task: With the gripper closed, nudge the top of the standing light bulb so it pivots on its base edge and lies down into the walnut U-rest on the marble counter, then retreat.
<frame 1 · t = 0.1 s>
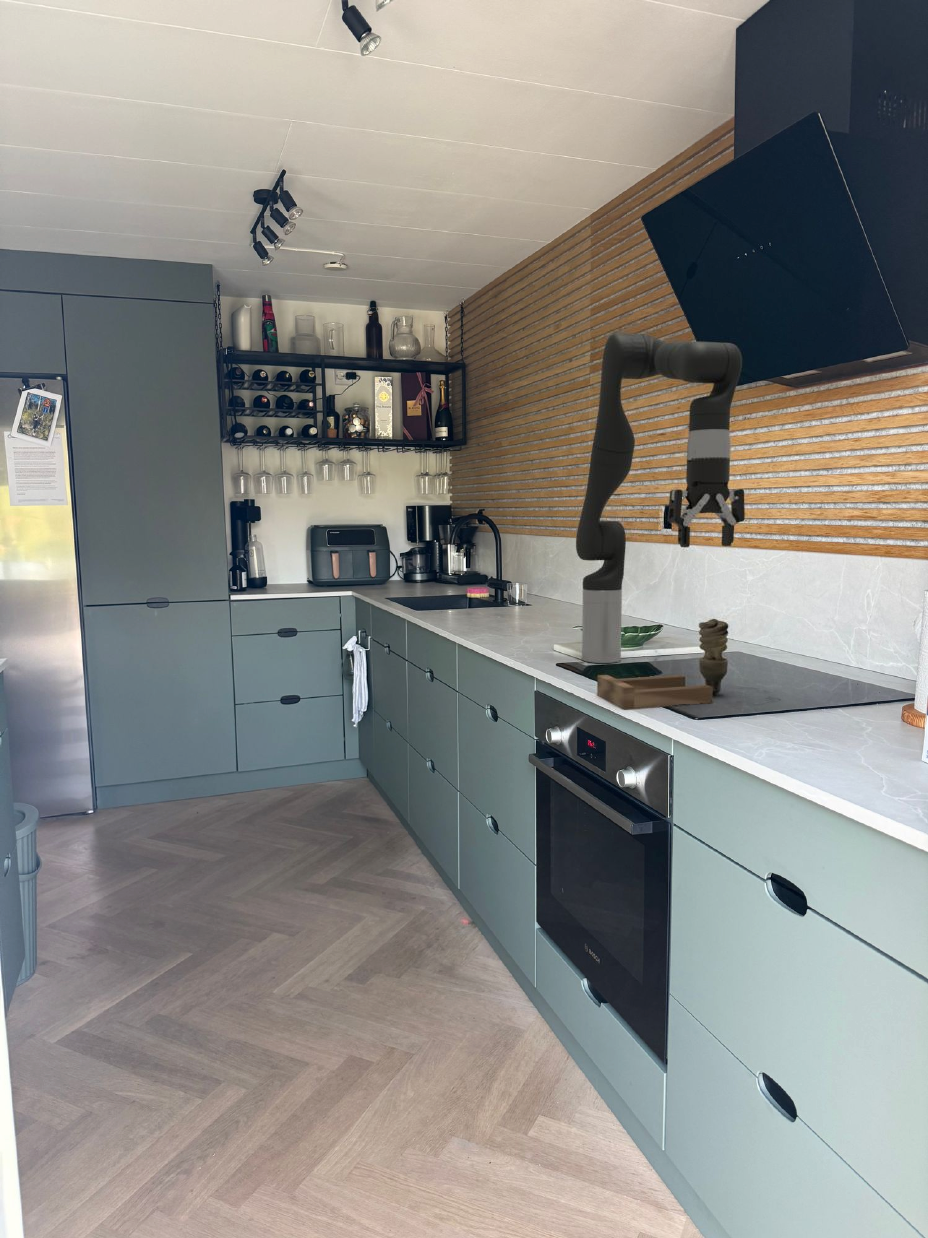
hand: (705, 546, 151), 29 cm above the worktop, fingers open, 8 cm apart
light bulb: (711, 695, 161), on the worktop
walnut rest: (658, 698, 158), on the worktop
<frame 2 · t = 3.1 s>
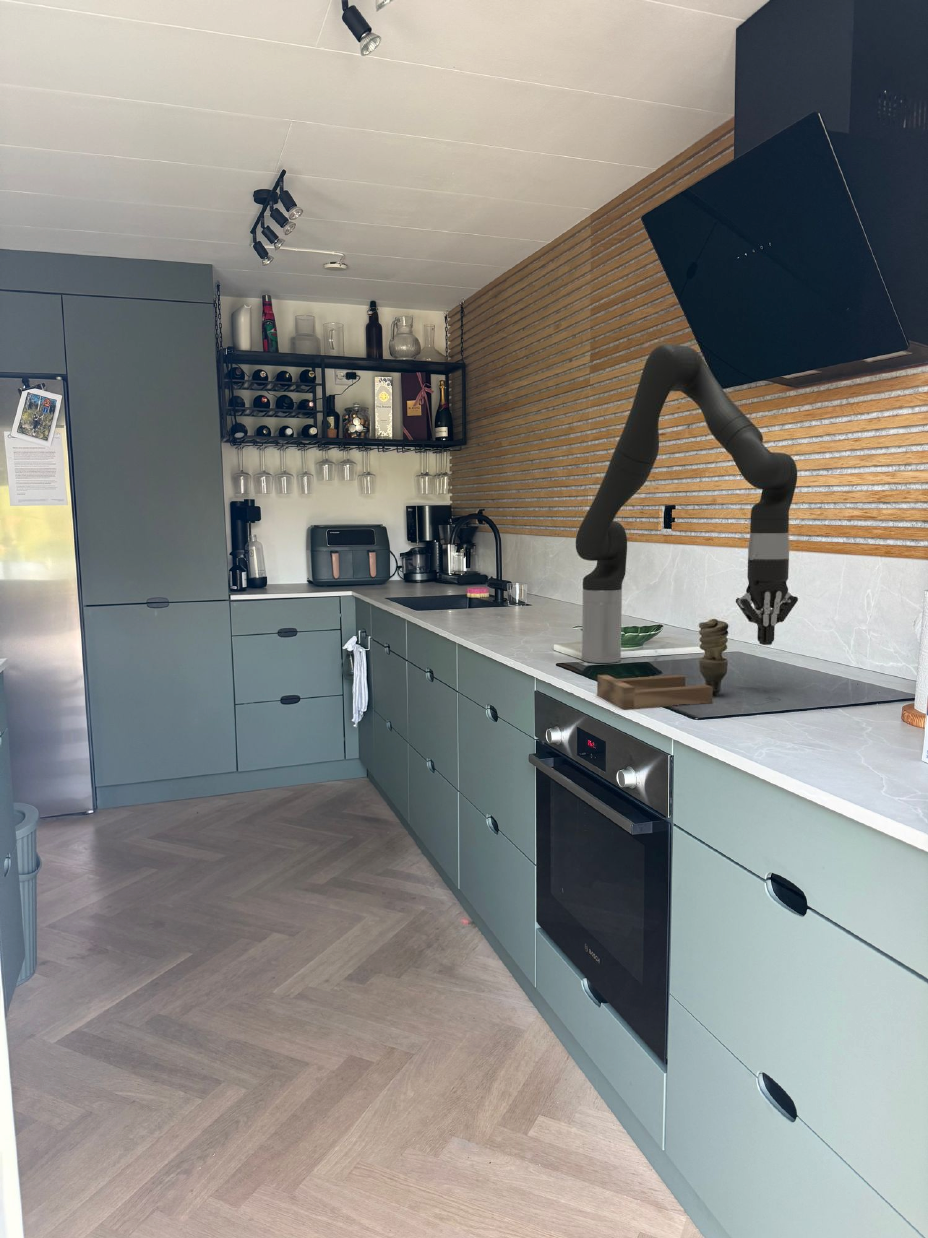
hand: (765, 644, 162), 9 cm above the worktop, fingers closed
nothing on the worktop moved.
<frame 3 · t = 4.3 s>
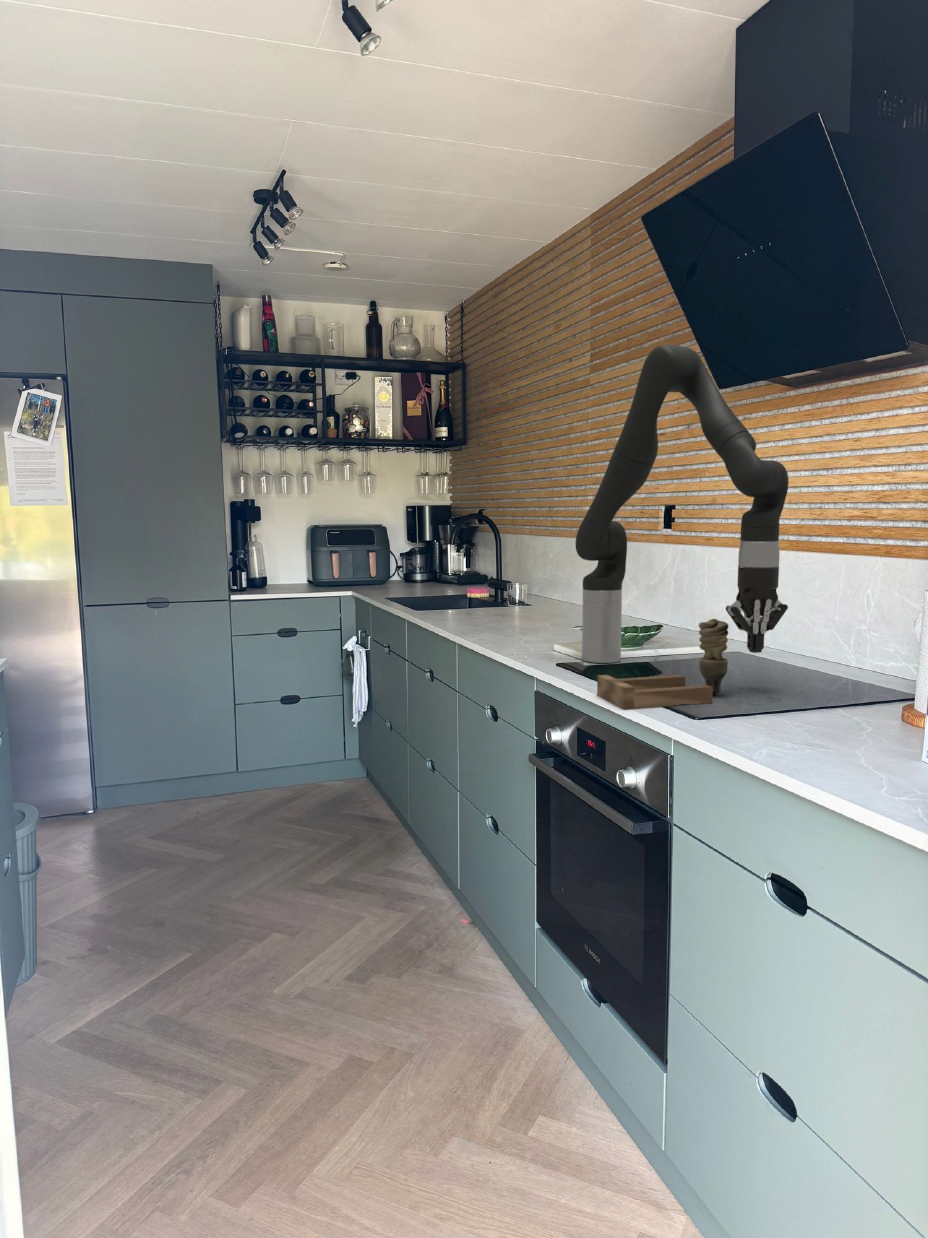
hand: (755, 652, 162), 8 cm above the worktop, fingers closed
nothing on the worktop moved.
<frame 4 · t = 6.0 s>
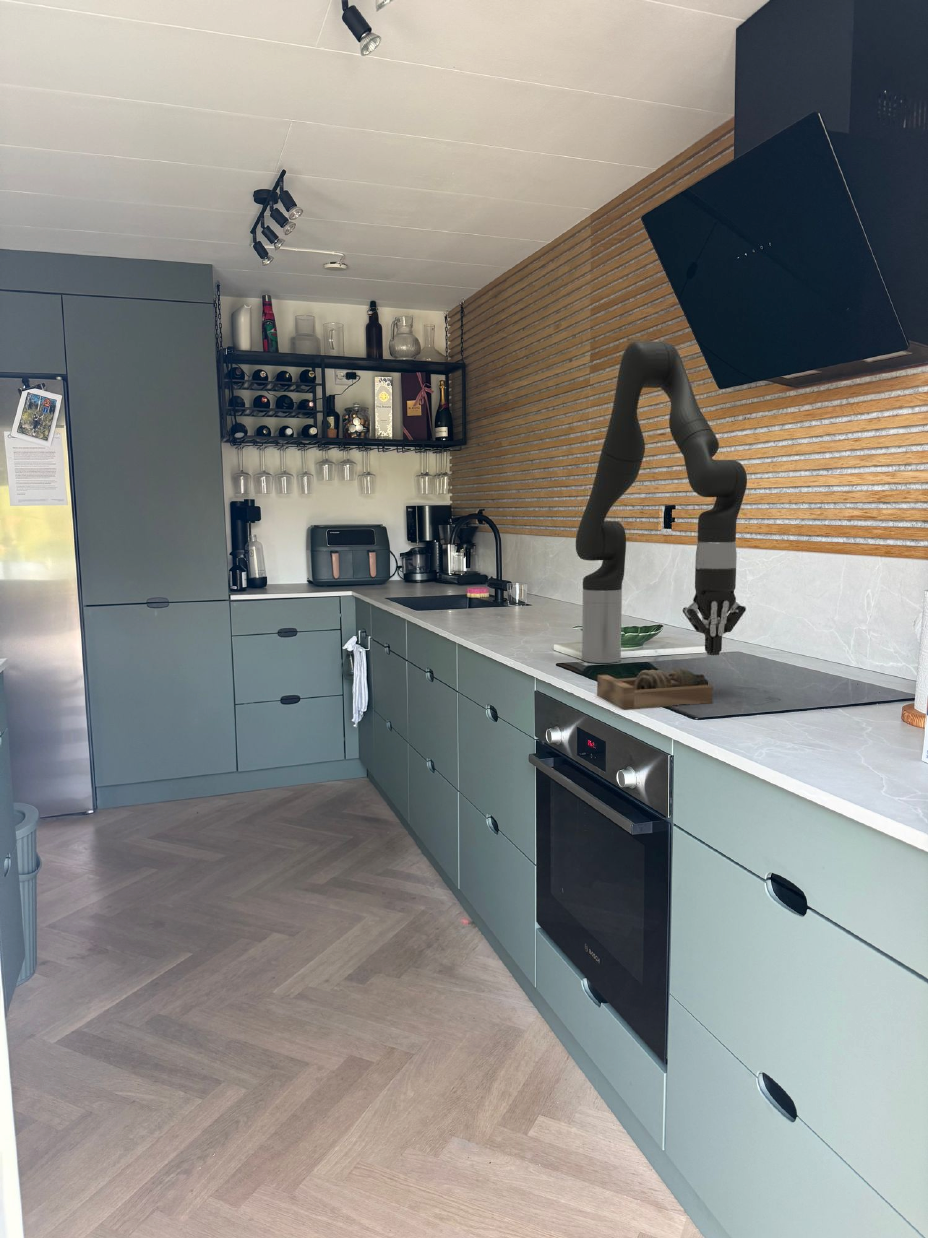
hand: (712, 654, 160), 8 cm above the worktop, fingers closed
light bulb: (707, 680, 159), point 3 cm above the worktop, touching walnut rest
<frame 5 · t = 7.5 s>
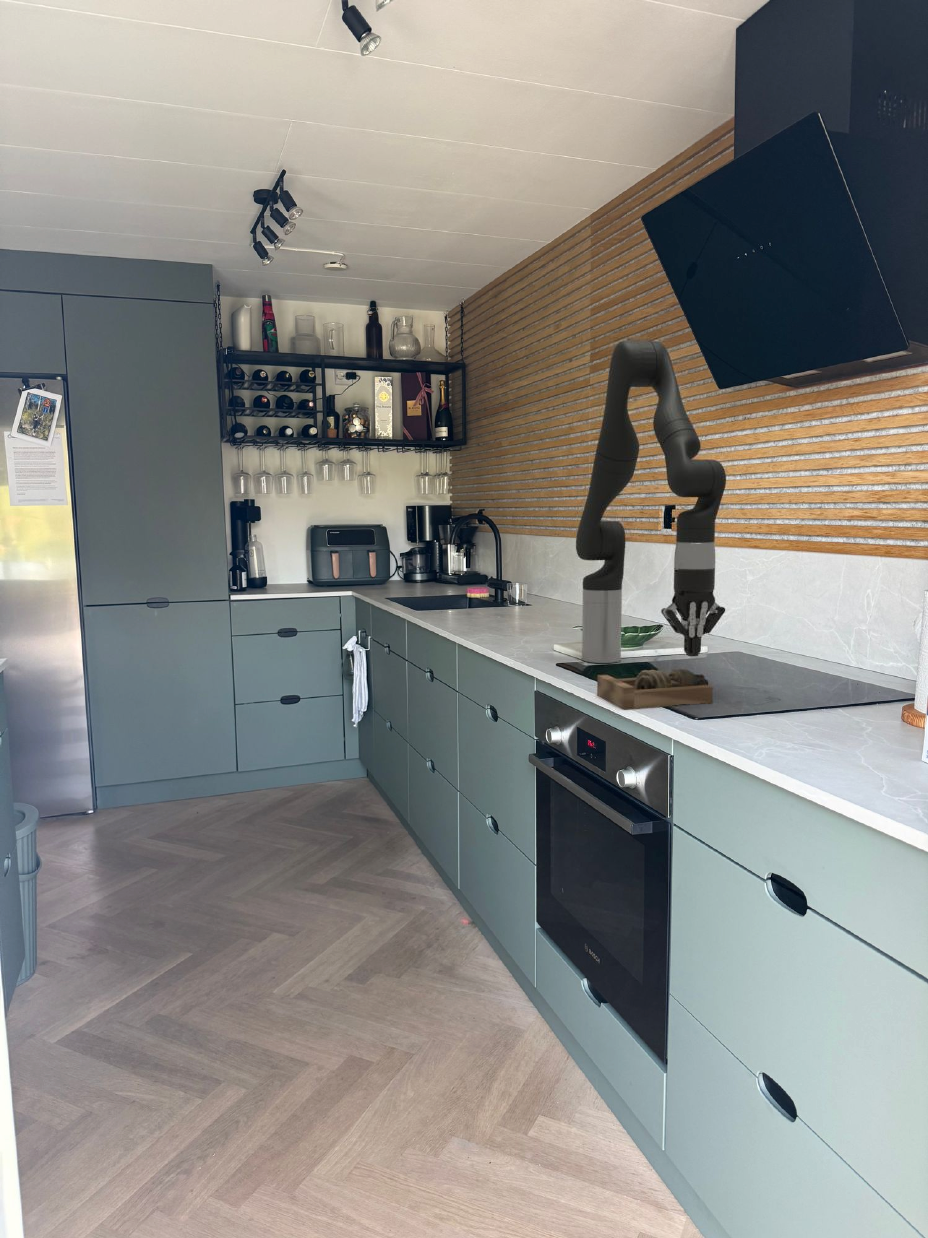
hand: (692, 655, 158), 8 cm above the worktop, fingers closed
nothing on the worktop moved.
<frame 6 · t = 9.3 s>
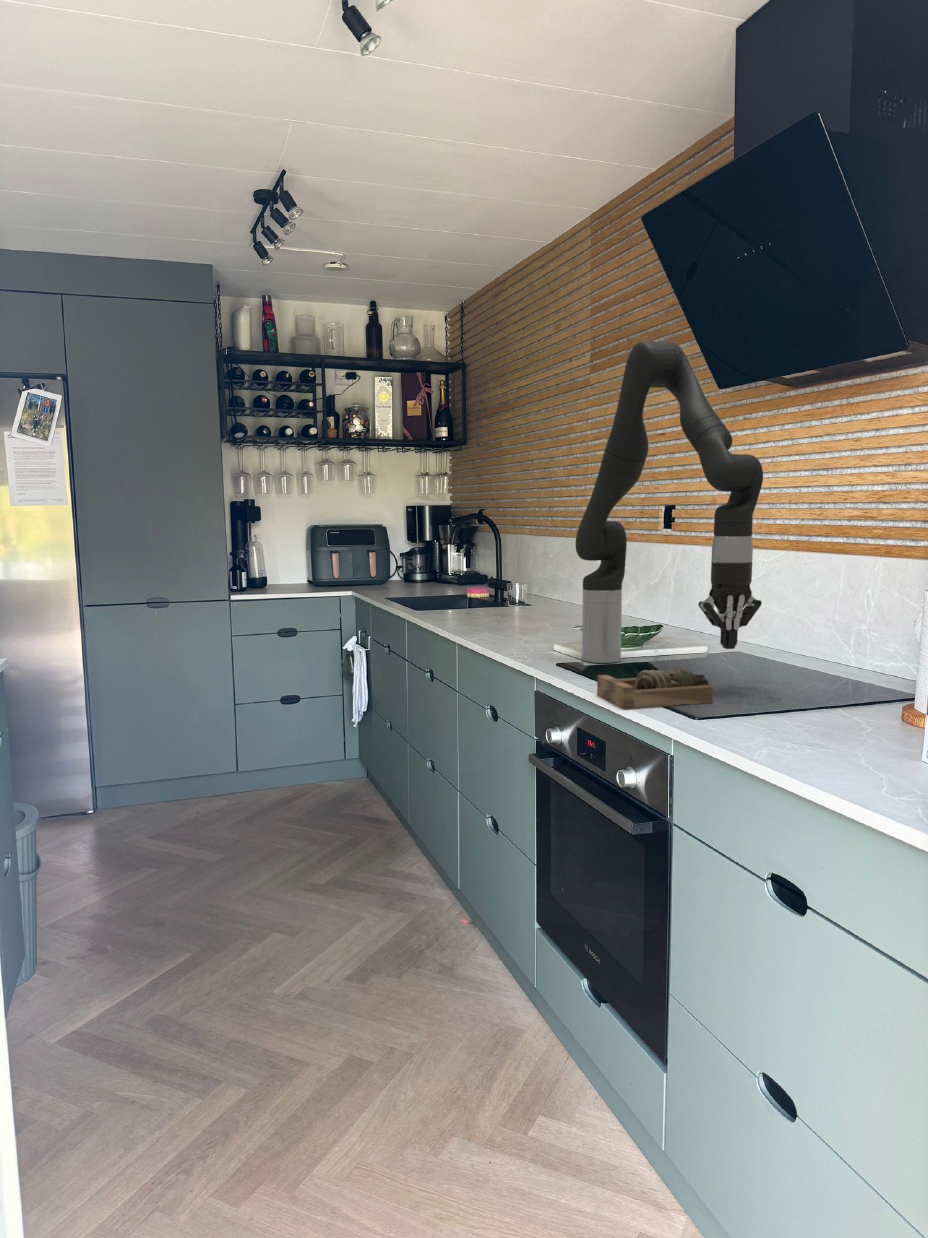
hand: (728, 648, 160), 9 cm above the worktop, fingers closed
nothing on the worktop moved.
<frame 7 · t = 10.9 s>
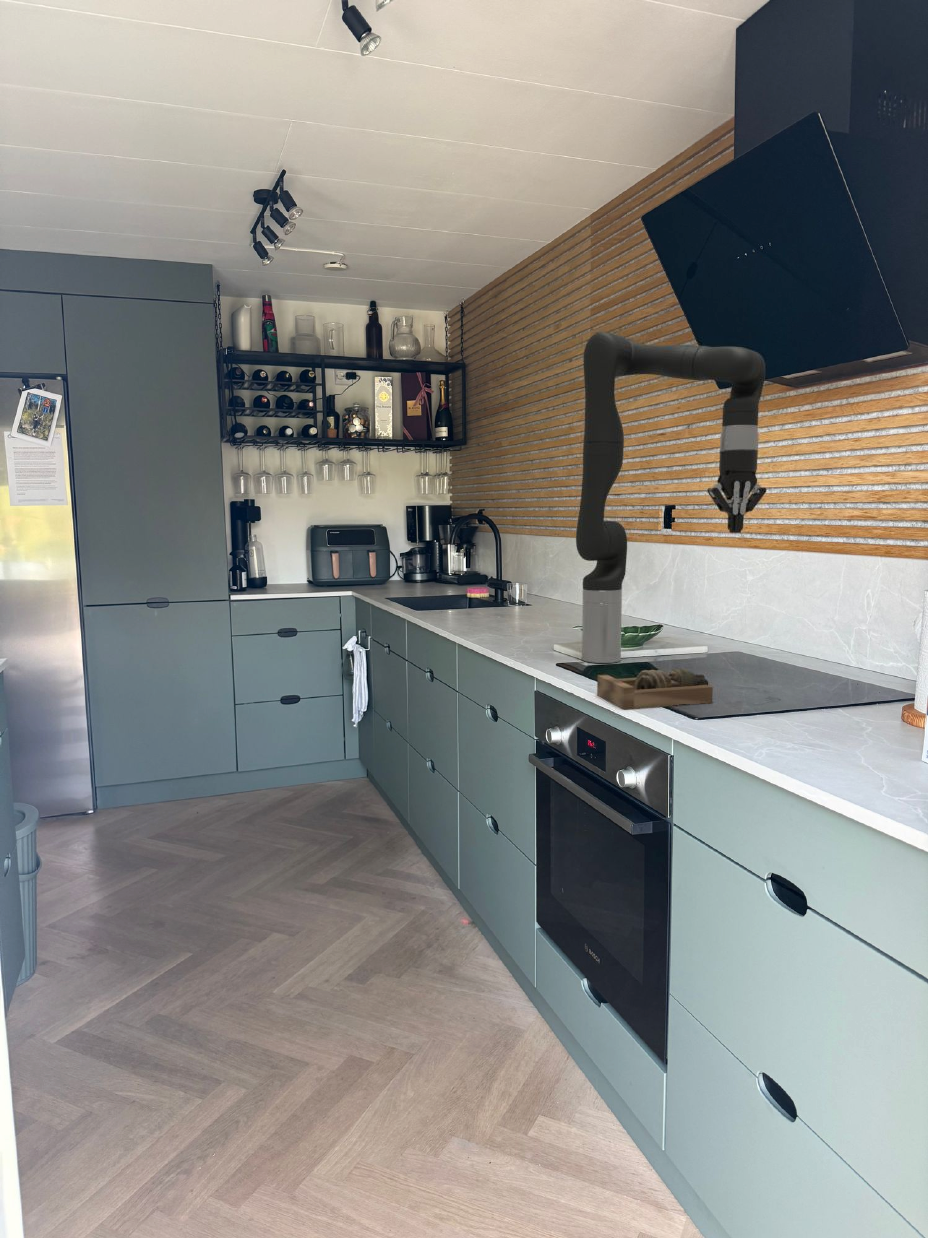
hand: (735, 532, 173), 31 cm above the worktop, fingers closed
nothing on the worktop moved.
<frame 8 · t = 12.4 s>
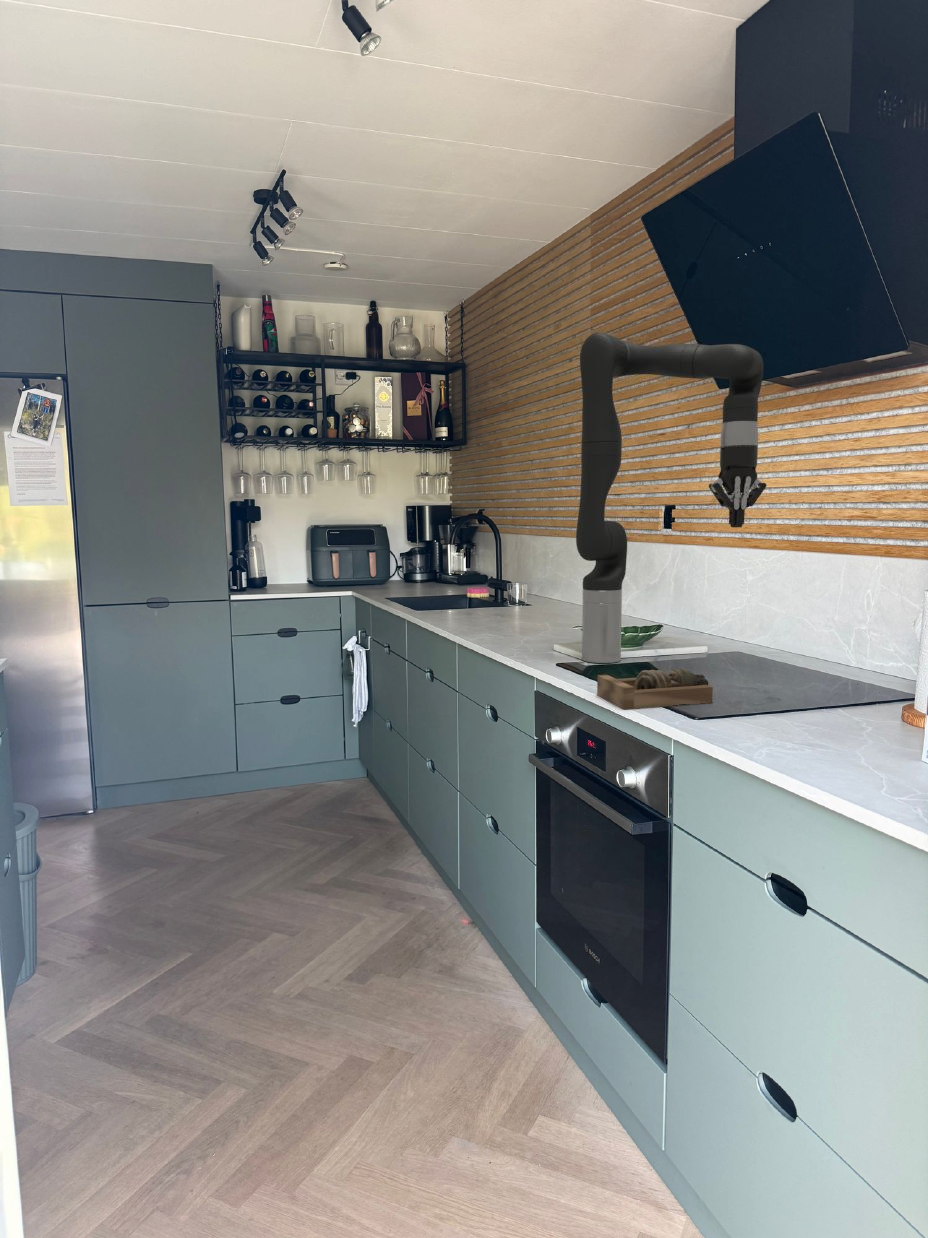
hand: (736, 527, 175), 32 cm above the worktop, fingers closed
nothing on the worktop moved.
at the end: light bulb tilted 90°; light bulb 10.1 cm from the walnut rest (horizontally); light bulb point 3.1 cm above the worktop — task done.
